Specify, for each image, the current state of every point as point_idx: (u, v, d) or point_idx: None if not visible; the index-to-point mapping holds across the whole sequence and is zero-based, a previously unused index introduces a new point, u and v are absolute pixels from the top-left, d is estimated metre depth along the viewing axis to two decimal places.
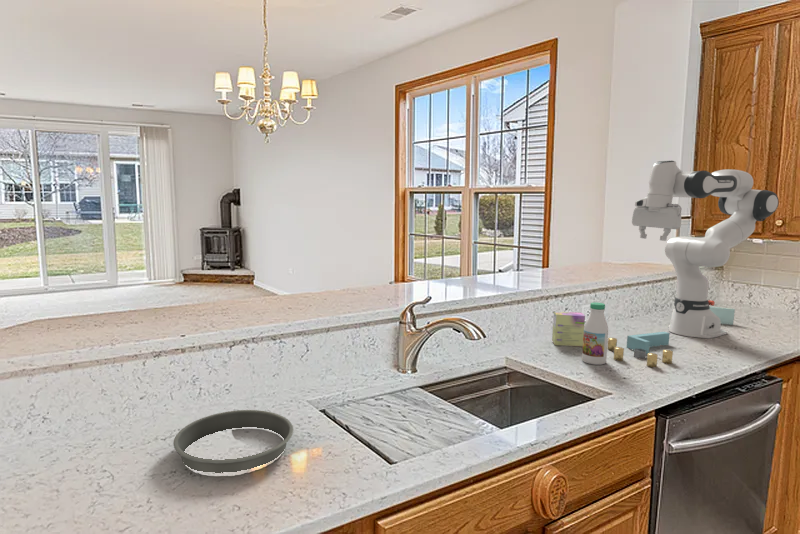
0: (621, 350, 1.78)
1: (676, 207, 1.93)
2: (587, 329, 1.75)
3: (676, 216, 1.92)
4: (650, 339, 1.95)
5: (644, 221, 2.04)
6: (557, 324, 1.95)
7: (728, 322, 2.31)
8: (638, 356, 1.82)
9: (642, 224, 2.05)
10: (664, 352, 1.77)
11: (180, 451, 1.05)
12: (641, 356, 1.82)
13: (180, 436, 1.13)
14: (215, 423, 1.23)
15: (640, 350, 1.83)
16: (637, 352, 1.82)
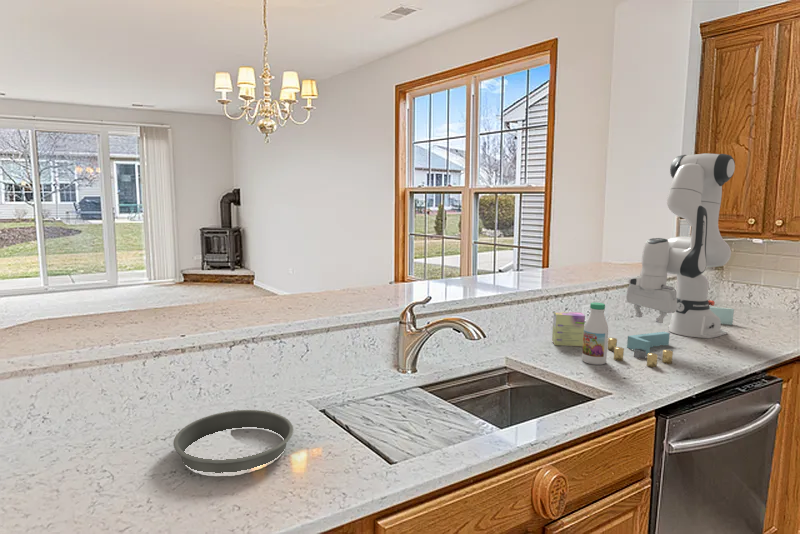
0: (621, 350, 1.78)
1: (671, 290, 1.85)
2: (587, 329, 1.75)
3: (671, 300, 1.84)
4: (651, 339, 1.95)
5: (639, 300, 1.96)
6: (557, 324, 1.95)
7: (727, 322, 2.31)
8: (638, 356, 1.82)
9: (637, 303, 1.97)
10: (664, 352, 1.77)
11: (180, 451, 1.05)
12: (641, 356, 1.82)
13: (180, 436, 1.13)
14: (215, 423, 1.23)
15: (640, 350, 1.83)
16: (637, 352, 1.82)
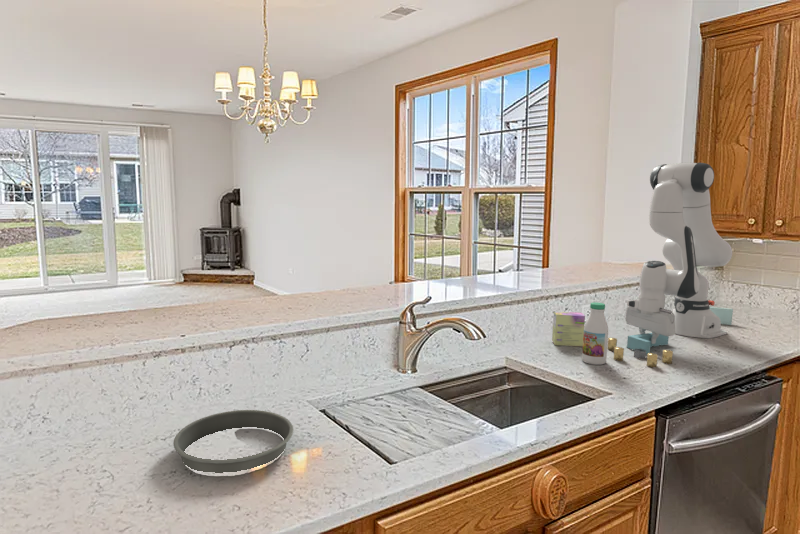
0: (621, 350, 1.78)
1: (669, 314, 1.86)
2: (587, 329, 1.75)
3: (670, 324, 1.86)
4: None
5: (638, 322, 1.98)
6: (557, 324, 1.95)
7: (726, 322, 2.31)
8: (638, 356, 1.82)
9: (636, 325, 1.99)
10: (664, 352, 1.77)
11: (180, 451, 1.05)
12: (641, 356, 1.82)
13: (180, 436, 1.13)
14: (215, 423, 1.23)
15: (640, 350, 1.83)
16: (637, 352, 1.82)
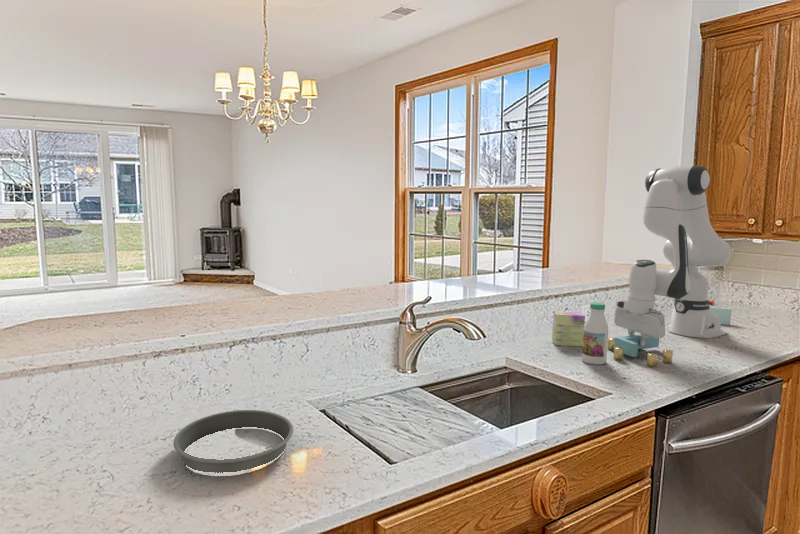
0: (621, 350, 1.78)
1: (659, 315, 1.79)
2: (587, 329, 1.75)
3: (659, 325, 1.78)
4: None
5: (627, 323, 1.90)
6: (557, 324, 1.95)
7: (725, 322, 2.31)
8: (638, 356, 1.82)
9: (625, 326, 1.91)
10: (664, 352, 1.77)
11: (180, 451, 1.05)
12: (641, 356, 1.82)
13: (180, 436, 1.13)
14: (215, 423, 1.23)
15: (640, 350, 1.83)
16: (637, 352, 1.82)
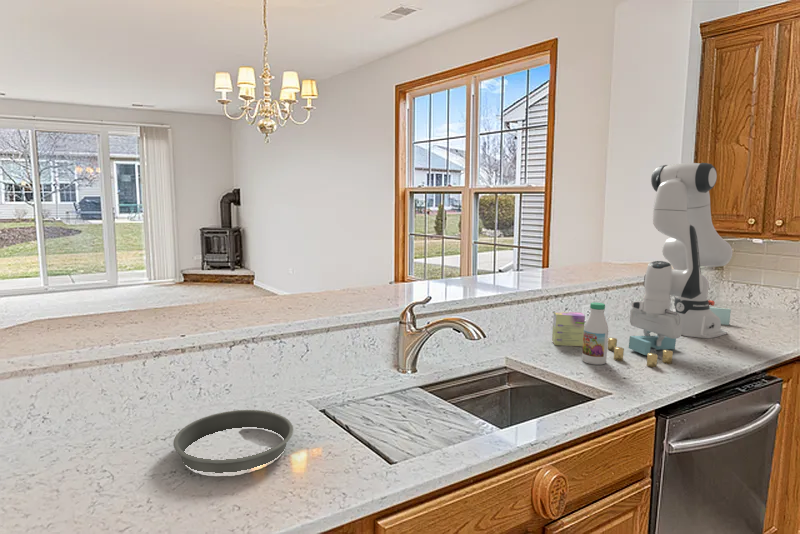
0: (621, 350, 1.78)
1: (675, 315, 1.82)
2: (587, 329, 1.75)
3: (675, 326, 1.81)
4: None
5: (643, 324, 1.93)
6: (557, 324, 1.95)
7: (724, 322, 2.31)
8: None
9: (641, 326, 1.94)
10: (664, 352, 1.77)
11: (180, 451, 1.05)
12: None
13: (180, 436, 1.13)
14: (215, 423, 1.23)
15: None
16: None
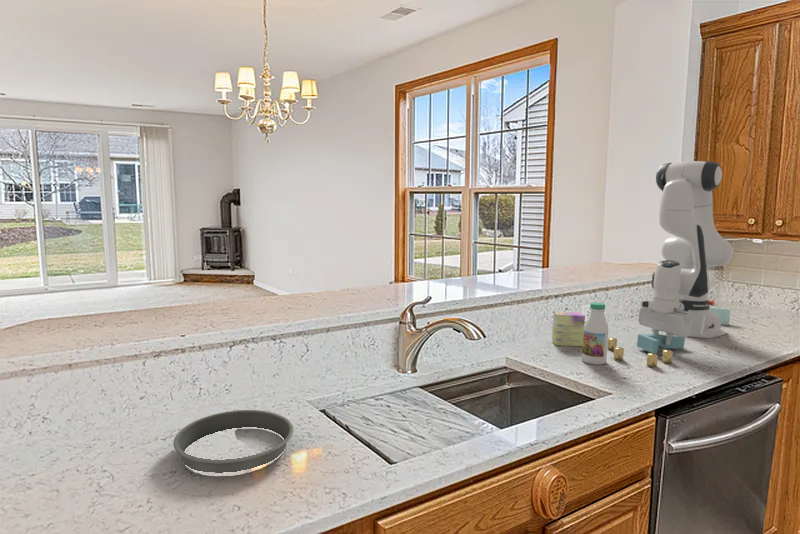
0: (621, 350, 1.78)
1: (684, 314, 1.83)
2: (587, 329, 1.75)
3: (685, 324, 1.82)
4: None
5: (652, 323, 1.95)
6: (557, 324, 1.95)
7: (724, 322, 2.31)
8: None
9: (649, 325, 1.95)
10: (664, 352, 1.77)
11: (180, 451, 1.05)
12: (657, 353, 1.86)
13: (180, 436, 1.13)
14: (215, 423, 1.23)
15: None
16: None
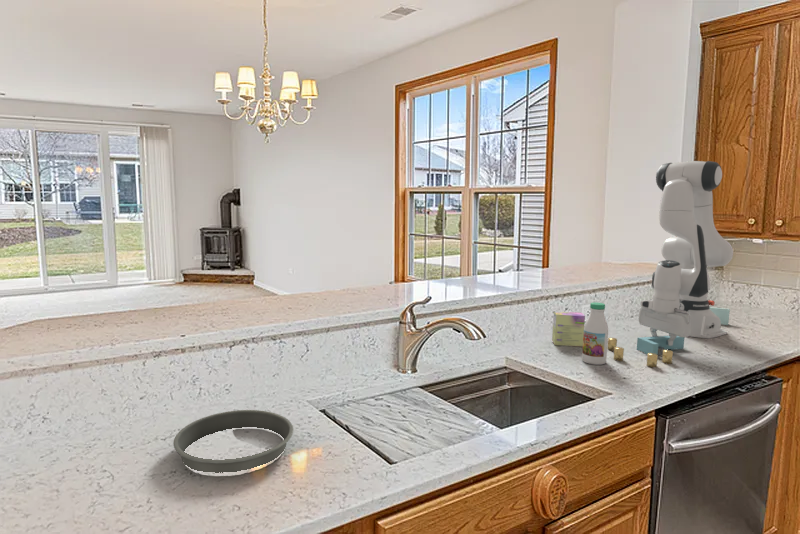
0: (621, 350, 1.78)
1: (684, 314, 1.83)
2: (587, 329, 1.75)
3: (685, 324, 1.82)
4: (663, 342, 1.92)
5: (652, 323, 1.95)
6: (557, 324, 1.95)
7: (723, 322, 2.31)
8: None
9: (650, 325, 1.95)
10: (664, 352, 1.77)
11: (180, 451, 1.05)
12: None
13: (180, 436, 1.13)
14: (215, 423, 1.23)
15: None
16: None
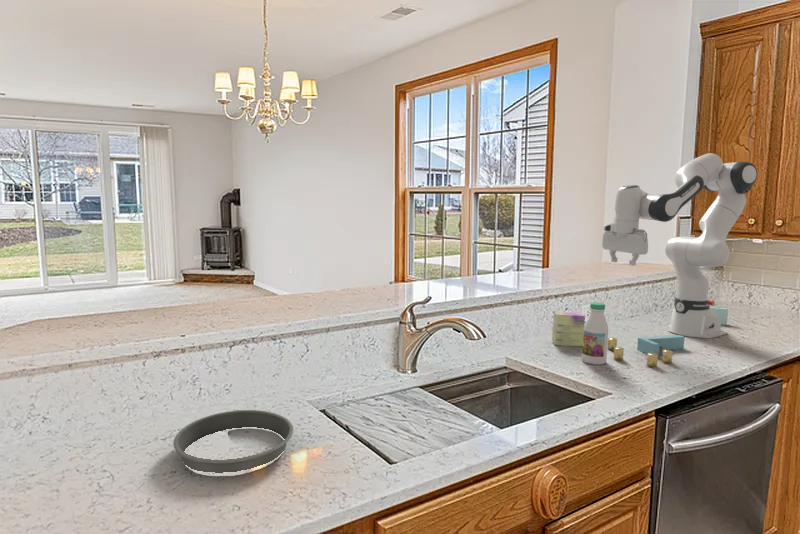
0: (621, 350, 1.78)
1: (642, 233, 1.95)
2: (587, 329, 1.75)
3: (642, 242, 1.94)
4: (663, 342, 1.91)
5: (614, 245, 2.07)
6: (557, 324, 1.95)
7: (721, 322, 2.31)
8: None
9: (612, 248, 2.07)
10: (664, 352, 1.77)
11: (180, 451, 1.05)
12: None
13: (180, 436, 1.13)
14: (215, 423, 1.23)
15: None
16: None
